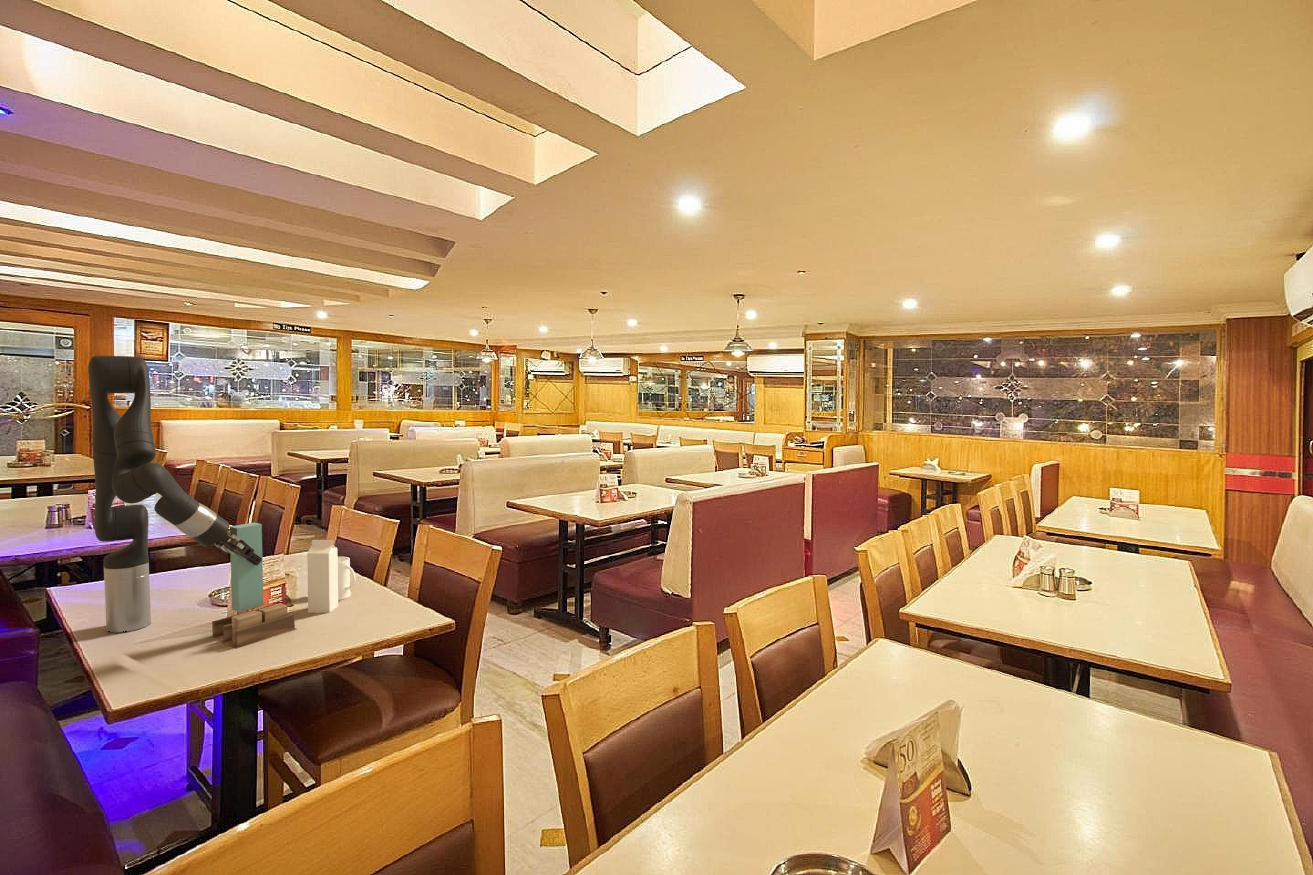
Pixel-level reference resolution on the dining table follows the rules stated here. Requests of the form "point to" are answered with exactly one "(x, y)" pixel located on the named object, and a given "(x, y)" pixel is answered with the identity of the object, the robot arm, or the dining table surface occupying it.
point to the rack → (251, 630)
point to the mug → (344, 578)
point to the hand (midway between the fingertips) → (254, 561)
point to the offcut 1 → (245, 621)
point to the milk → (322, 576)
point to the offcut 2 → (273, 612)
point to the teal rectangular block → (247, 570)
